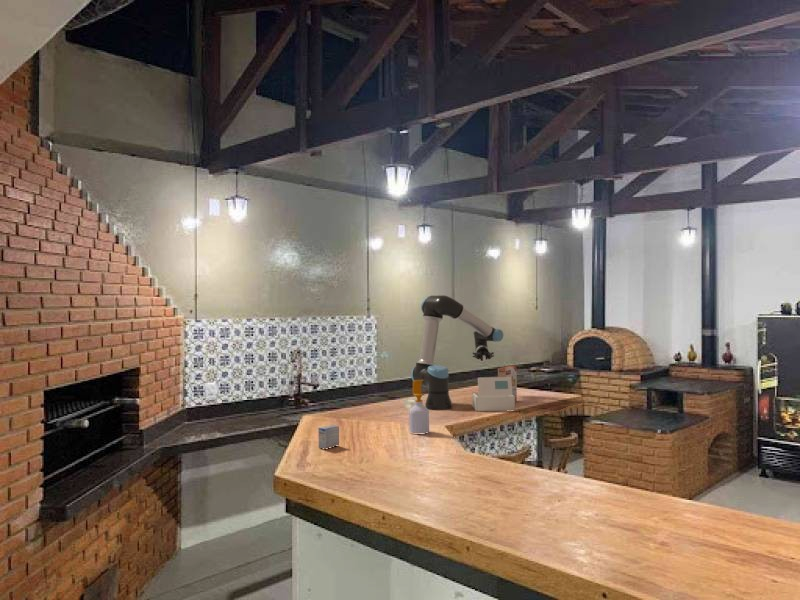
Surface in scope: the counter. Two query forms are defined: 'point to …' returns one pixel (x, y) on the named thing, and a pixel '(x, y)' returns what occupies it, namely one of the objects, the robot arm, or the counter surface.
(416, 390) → the soap bottle
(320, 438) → the medicine box
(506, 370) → the cracker box
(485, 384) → the front flap
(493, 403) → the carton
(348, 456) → the counter surface
